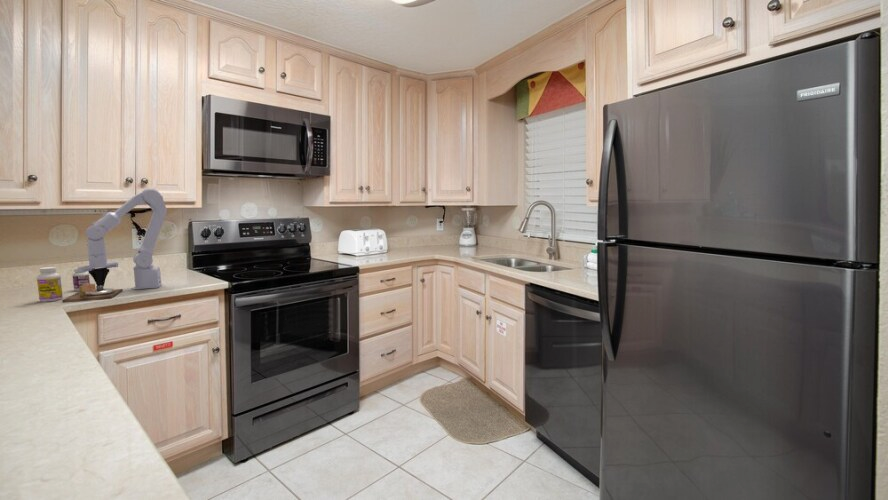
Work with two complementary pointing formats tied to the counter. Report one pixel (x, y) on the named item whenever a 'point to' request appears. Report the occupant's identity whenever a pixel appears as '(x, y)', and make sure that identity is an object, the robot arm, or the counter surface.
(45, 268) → the supplement bottle
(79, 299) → the brown piece
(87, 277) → the pill bottle
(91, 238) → the robot arm
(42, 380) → the counter surface
